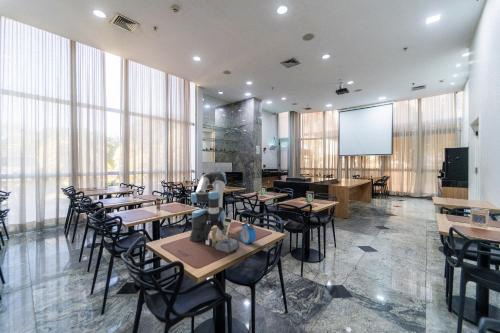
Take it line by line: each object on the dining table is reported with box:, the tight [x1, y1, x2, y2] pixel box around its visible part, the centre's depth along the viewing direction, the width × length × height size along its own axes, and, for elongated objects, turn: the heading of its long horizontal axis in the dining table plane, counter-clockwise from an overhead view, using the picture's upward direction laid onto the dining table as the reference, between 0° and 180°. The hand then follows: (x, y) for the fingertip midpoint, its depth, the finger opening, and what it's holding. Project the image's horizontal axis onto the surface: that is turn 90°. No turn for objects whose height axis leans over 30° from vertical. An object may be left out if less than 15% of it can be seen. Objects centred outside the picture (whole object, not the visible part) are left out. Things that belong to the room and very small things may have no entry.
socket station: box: [214, 226, 243, 254], centre depth 153 cm, size 16×12×15 cm
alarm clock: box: [239, 221, 257, 245], centre depth 164 cm, size 13×6×15 cm, turn 41°
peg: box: [211, 229, 217, 248], centre depth 157 cm, size 3×3×12 cm
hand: (214, 241), depth 157 cm, fingers open, 13 cm apart
